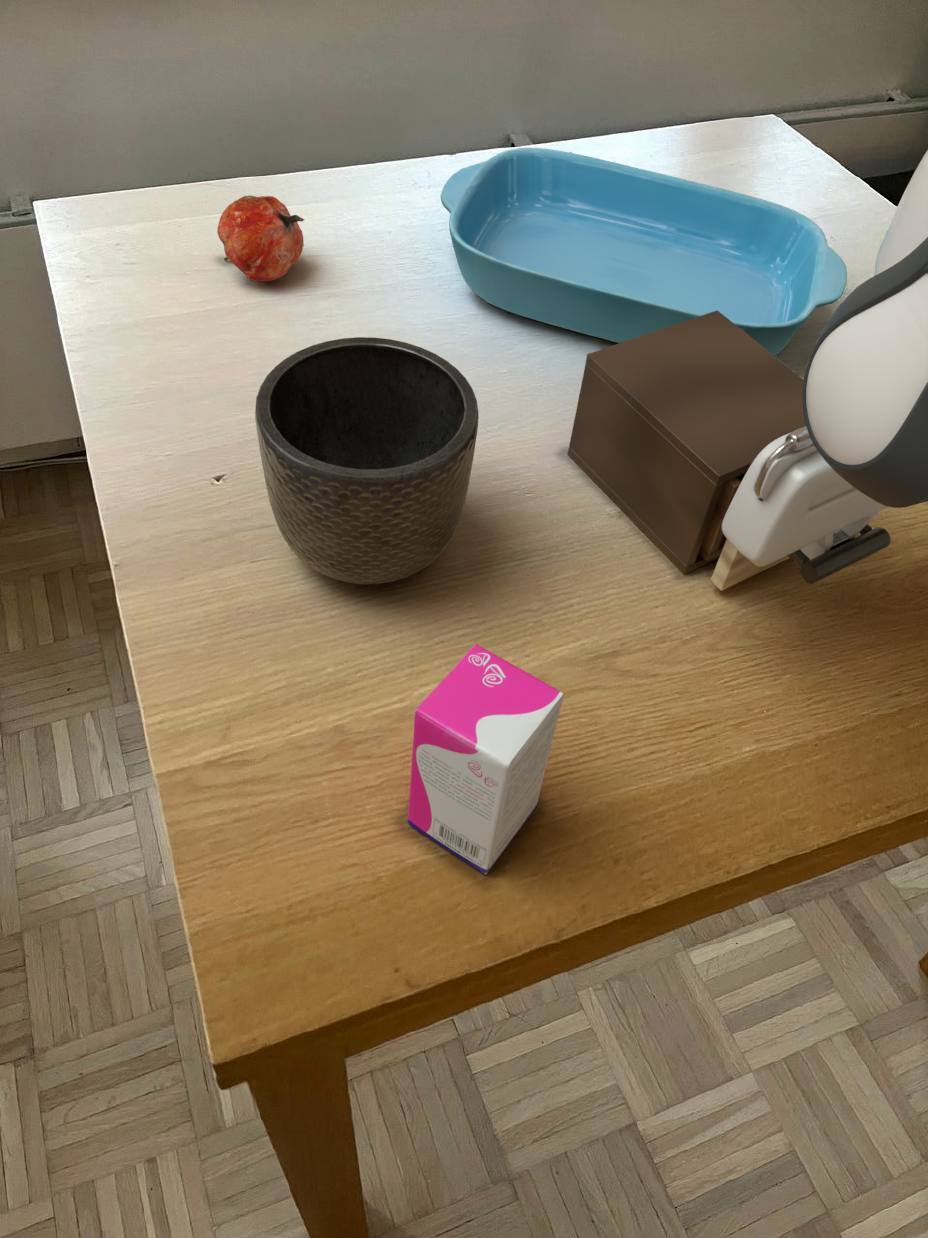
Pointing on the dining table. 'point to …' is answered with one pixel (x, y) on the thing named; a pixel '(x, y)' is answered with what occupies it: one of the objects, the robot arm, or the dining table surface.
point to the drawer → (739, 568)
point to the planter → (366, 455)
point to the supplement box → (480, 756)
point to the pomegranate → (260, 237)
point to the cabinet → (680, 424)
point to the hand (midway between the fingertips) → (822, 551)
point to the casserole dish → (633, 248)
